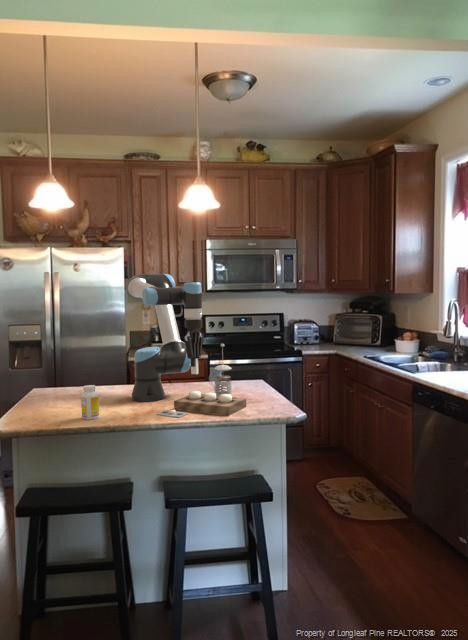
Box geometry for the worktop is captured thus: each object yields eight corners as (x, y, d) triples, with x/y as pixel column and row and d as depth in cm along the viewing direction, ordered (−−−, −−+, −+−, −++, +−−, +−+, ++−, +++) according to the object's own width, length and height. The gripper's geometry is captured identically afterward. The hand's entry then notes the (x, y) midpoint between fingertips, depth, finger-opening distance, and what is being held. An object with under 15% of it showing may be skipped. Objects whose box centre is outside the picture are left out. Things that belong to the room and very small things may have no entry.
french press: (229, 400, 229) (229, 345, 227) (205, 399, 233) (204, 344, 231) (236, 396, 238) (236, 342, 237) (213, 394, 242) (212, 342, 240)
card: (156, 414, 207) (156, 411, 207) (166, 410, 213) (166, 407, 213) (179, 417, 202) (179, 413, 202) (188, 413, 208) (188, 409, 208)
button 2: (202, 401, 215) (202, 394, 215) (208, 399, 220) (208, 392, 219) (212, 403, 213) (212, 395, 213) (218, 400, 217) (218, 393, 217)
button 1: (187, 400, 219) (186, 393, 218) (193, 397, 223) (193, 390, 223) (197, 401, 216) (196, 393, 216) (203, 398, 221) (203, 391, 221)
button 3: (217, 403, 212) (217, 396, 212) (223, 401, 216) (223, 393, 216) (228, 404, 210) (228, 397, 209) (234, 402, 214) (233, 394, 214)
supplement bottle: (100, 415, 207) (99, 384, 206) (97, 419, 201) (95, 387, 200) (84, 416, 207) (83, 384, 206) (79, 420, 200) (78, 387, 199)
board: (174, 409, 215) (173, 400, 215) (194, 401, 230) (194, 393, 229) (228, 415, 204) (228, 406, 203) (246, 406, 218) (246, 398, 217)
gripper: (192, 319, 210) (194, 376, 211) (208, 317, 221) (210, 371, 223) (177, 319, 213) (179, 375, 215) (193, 317, 225) (195, 371, 226)
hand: (194, 373), depth 219 cm, fingers closed
